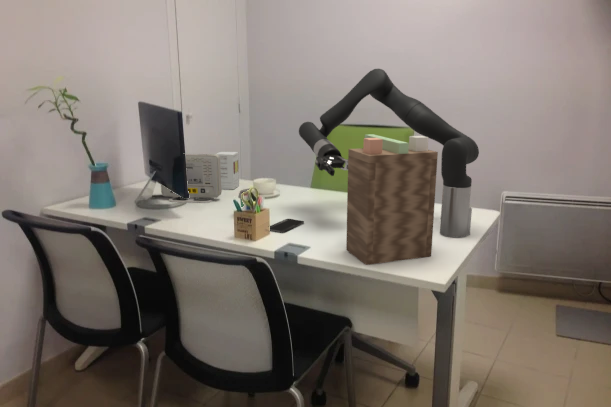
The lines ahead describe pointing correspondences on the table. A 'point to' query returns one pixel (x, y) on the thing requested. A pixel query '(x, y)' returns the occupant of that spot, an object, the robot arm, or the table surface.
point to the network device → (200, 178)
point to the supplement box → (229, 170)
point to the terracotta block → (372, 145)
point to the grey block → (418, 143)
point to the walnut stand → (390, 205)
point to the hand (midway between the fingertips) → (344, 173)
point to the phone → (285, 225)
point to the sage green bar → (392, 144)
